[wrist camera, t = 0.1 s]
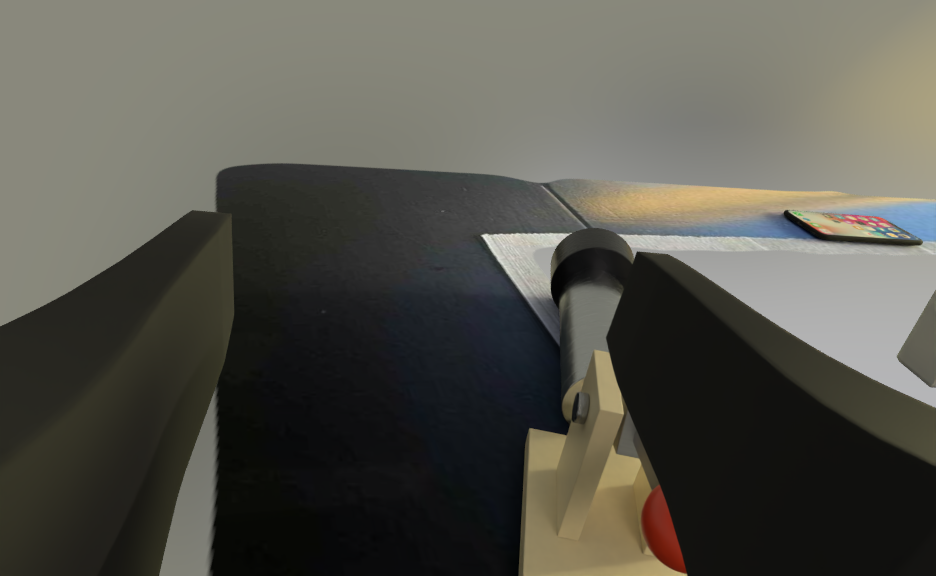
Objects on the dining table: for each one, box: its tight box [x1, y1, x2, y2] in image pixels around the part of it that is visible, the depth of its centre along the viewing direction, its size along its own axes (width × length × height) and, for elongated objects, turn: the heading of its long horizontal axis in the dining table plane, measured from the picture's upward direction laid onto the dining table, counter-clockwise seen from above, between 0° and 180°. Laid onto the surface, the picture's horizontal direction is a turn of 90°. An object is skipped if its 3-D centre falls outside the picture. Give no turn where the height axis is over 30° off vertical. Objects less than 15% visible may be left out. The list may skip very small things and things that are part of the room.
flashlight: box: [551, 228, 634, 426], centre depth 44 cm, size 17×6×6 cm, turn 174°
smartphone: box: [784, 210, 923, 245], centre depth 79 cm, size 8×1×15 cm
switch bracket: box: [519, 350, 687, 576], centre depth 31 cm, size 10×8×9 cm
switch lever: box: [613, 394, 687, 574], centre depth 25 cm, size 11×3×3 cm, turn 173°
